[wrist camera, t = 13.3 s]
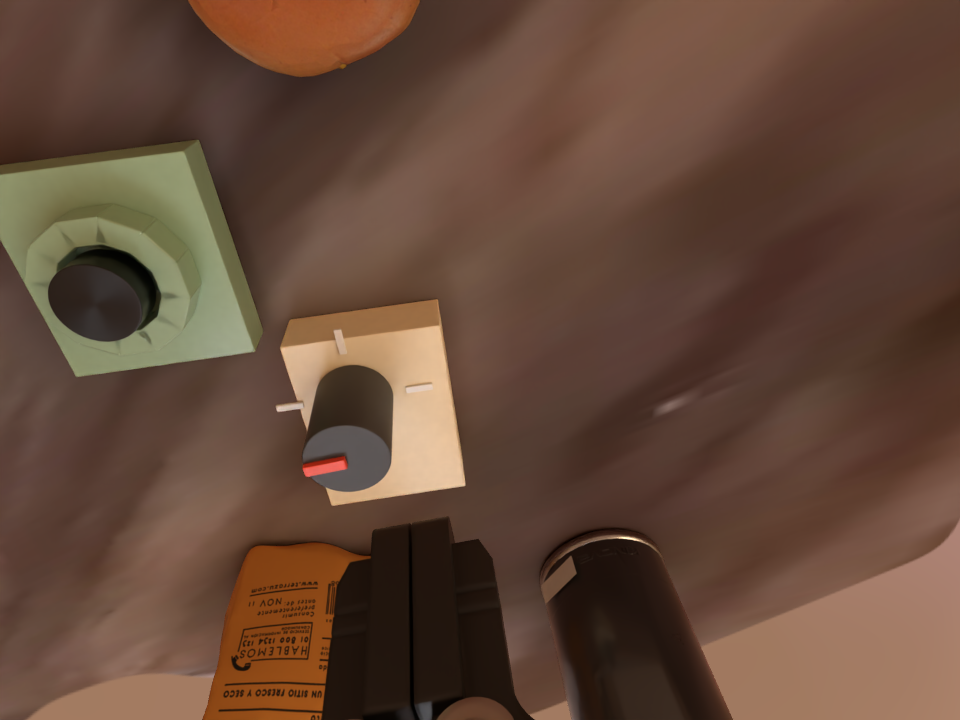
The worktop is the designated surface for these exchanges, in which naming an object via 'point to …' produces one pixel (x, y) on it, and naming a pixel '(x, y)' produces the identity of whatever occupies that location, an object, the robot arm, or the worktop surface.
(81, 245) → the button box
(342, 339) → the panel
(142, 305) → the button
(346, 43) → the burger
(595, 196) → the worktop surface
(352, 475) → the dial
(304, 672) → the coffee package
